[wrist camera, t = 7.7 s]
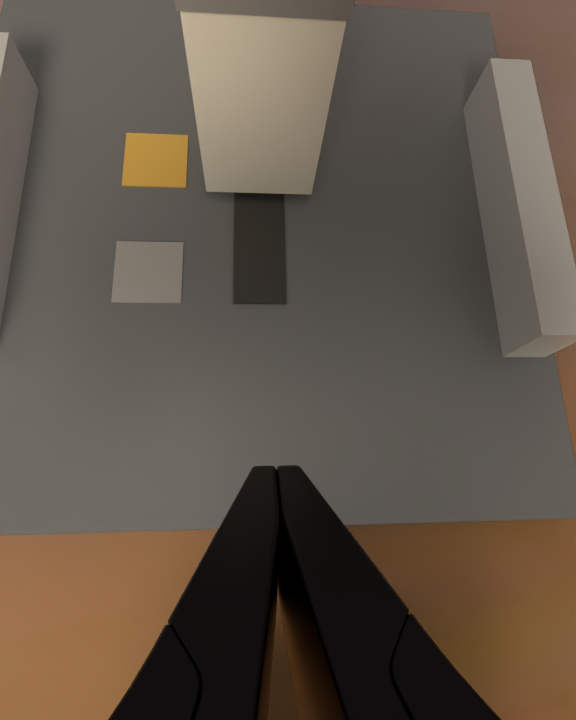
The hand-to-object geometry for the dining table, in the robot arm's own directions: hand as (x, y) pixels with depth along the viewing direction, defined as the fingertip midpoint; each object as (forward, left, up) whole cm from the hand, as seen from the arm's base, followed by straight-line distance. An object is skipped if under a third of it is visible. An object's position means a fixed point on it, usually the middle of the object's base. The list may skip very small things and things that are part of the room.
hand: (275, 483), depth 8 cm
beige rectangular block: (+6, -14, -10) cm, 18 cm away
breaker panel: (+5, -12, -12) cm, 18 cm away
